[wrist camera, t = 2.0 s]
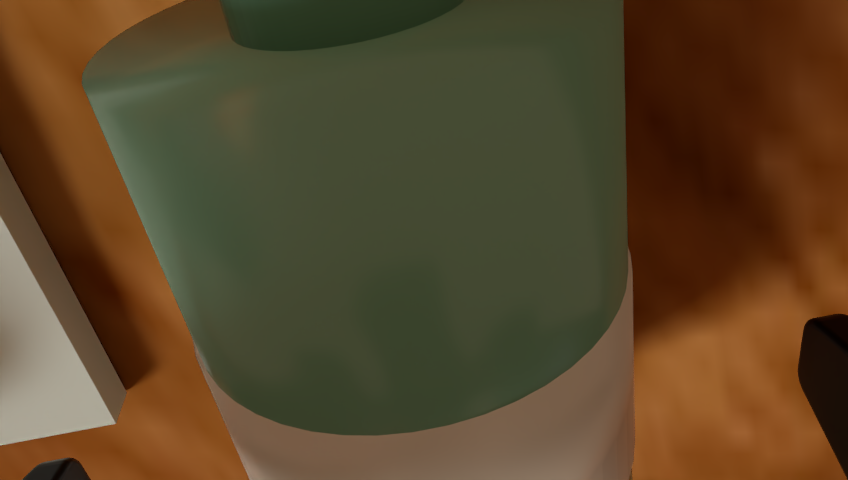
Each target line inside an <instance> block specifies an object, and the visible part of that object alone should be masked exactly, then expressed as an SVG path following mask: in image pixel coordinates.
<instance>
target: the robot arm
mask: <svg viewBox="0 0 848 480" xmlns="http://www.w3.org/2000/svg"><path fill="white" fill-rule="evenodd" d="M798 377H799V381H800V384H801V387H802V389H803V392H804V394H805V396H806V398H807V399H808V401H809V403H810V405H811V407H812V409H813V411H814V413H815V415H816V417H817V419H818V421H819V423H820V425H821V427H822V429H823V431H824V433H825V435H826V437H827V439H828V441H829V443H830V445H831V447H832V449H833V451H834V453H835V455H836V457H837V459H838V461H839V463H840V465H841V467H842V469H843V471H844V473H845V475H846V477H847V479H848V315H845V314H833V315H828V316H823V317H817V318H813V319H810V320H808V322H807V323H806V324H805V326H804V330H803V337H802V343H801V350H800V357H799V364H798ZM22 480H91V479H90V478H89V476H88V475H87V473H86V471H85V470H84V468H83V466H82V465H81V464H80V462H79V461H77V460H76V459H74V458H64V459H58V460H53V461H48V462H44V463H41V464H39V465H37V466H36V467H35V468H34V469H33V470H32V471H31V472H30V473H29V474H28V475H26V476H25V477H24V478H23V479H22Z"/></svg>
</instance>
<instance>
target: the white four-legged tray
mask: <svg viewBox="0 0 848 480" xmlns="http://www.w3.org/2000/svg"><path fill="white" fill-rule="evenodd" d="M126 393H127V392H126V390H125V388H124V386H123V384H122V382H121V381H120V379H119V377H118V375H117V373H116V371H115V369H114V367H113V365H112V363H111V362H110V360H109V358H108V356H107V354H106V352H105V350H104V348H103V346H102V345H101V343H100V341H99V339H98V337H97V335H96V333H95V331H94V329H93V328H92V326H91V324H90V322H89V320H88V318H87V316H86V314H85V312H84V310H83V309H82V307H81V305H80V303H79V301H78V299H77V297H76V295H75V293H74V292H73V290H72V288H71V286H70V284H69V282H68V280H67V278H66V276H65V274H64V273H63V271H62V269H61V267H60V265H59V263H58V261H57V259H56V257H55V256H54V254H53V252H52V250H51V248H50V246H49V244H48V242H47V240H46V238H45V237H44V235H43V233H42V231H41V229H40V227H39V225H38V223H37V221H36V220H35V218H34V216H33V214H32V212H31V210H30V208H29V206H28V204H27V202H26V201H25V199H24V197H23V195H22V193H21V191H20V189H19V187H18V185H17V184H16V182H15V180H14V178H13V176H12V174H11V172H10V170H9V168H8V166H7V165H6V163H5V161H4V159H3V157H2V155H1V153H0V445H5V444H10V443H16V442H21V441H26V440H32V439H37V438H42V437H48V436H53V435H58V434H64V433H69V432H74V431H80V430H85V429H90V428H96V427H101V426H106V425H112V424H116V422H117V419H118V416H119V414H120V411H121V408H122V405H123V402H124V399H125V396H126Z"/></svg>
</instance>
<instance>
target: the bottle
mask: <svg viewBox="0 0 848 480" xmlns="http://www.w3.org/2000/svg"><path fill="white" fill-rule="evenodd" d="M82 86H83V88H84V90H85V93H86V95H87V97H88V99H89V102H90V104H91V106H92V109H93V111H94V113H95V115H96V118H97V120H98V122H99V125H100V127H101V129H102V132H103V134H104V136H105V138H106V141H107V143H108V145H109V148H110V150H111V152H112V155H113V157H114V159H115V161H116V164H117V166H118V168H119V171H120V173H121V175H122V177H123V180H124V182H125V184H126V187H127V189H128V191H129V194H130V196H131V198H132V200H133V203H134V205H135V207H136V210H137V212H138V214H139V217H140V219H141V221H142V223H143V226H144V228H145V230H146V233H147V235H148V237H149V239H150V242H151V244H152V246H153V249H154V251H155V253H156V256H157V258H158V260H159V262H160V265H161V267H162V269H163V272H164V274H165V276H166V278H167V281H168V283H169V285H170V288H171V290H172V292H173V295H174V297H175V299H176V301H177V304H178V306H179V308H180V311H181V313H182V315H183V318H184V320H185V322H186V324H187V327H188V329H189V331H190V334H191V336H192V338H193V343H194V349H195V355H196V358H197V361H198V363H199V365H200V368H201V370H202V372H203V374H204V377H205V379H206V381H207V384H208V386H209V388H210V390H211V393H212V395H213V397H214V399H215V402H216V404H217V406H218V409H219V411H220V413H221V415H222V418H223V420H224V422H225V424H226V427H227V429H228V431H229V434H230V436H231V438H232V440H233V443H234V445H235V447H236V449H237V452H238V454H239V456H240V458H241V461H242V463H243V465H244V468H245V470H246V472H247V474H248V477H249V479H250V480H632V465H633V460H634V447H635V402H634V334H633V270H632V262H631V254H630V251H629V248H628V227H627V173H626V119H625V65H624V11H623V0H185V1H183V2H181V3H178V4H176V5H174V6H172V7H169V8H167V9H165V10H163V11H161V12H159V13H157V14H154V15H152V16H150V17H148V18H146V19H144V20H143V21H141V22H139V23H137V24H136V25H134V26H132V27H130V28H129V29H127V30H125V31H124V32H122V33H121V34H119V35H118V36H116V37H115V38H113V39H112V40H111V41H109V42H108V43H107V44H106V45H105V46H103V47H102V48H101V49H100V50H99V51H98V52H97V53H96V54H95V55H94V56H93V57H92V59H91V60H90V61H89V62H88V64H87V66H86V68H85V70H84V72H83V74H82Z"/></svg>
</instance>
